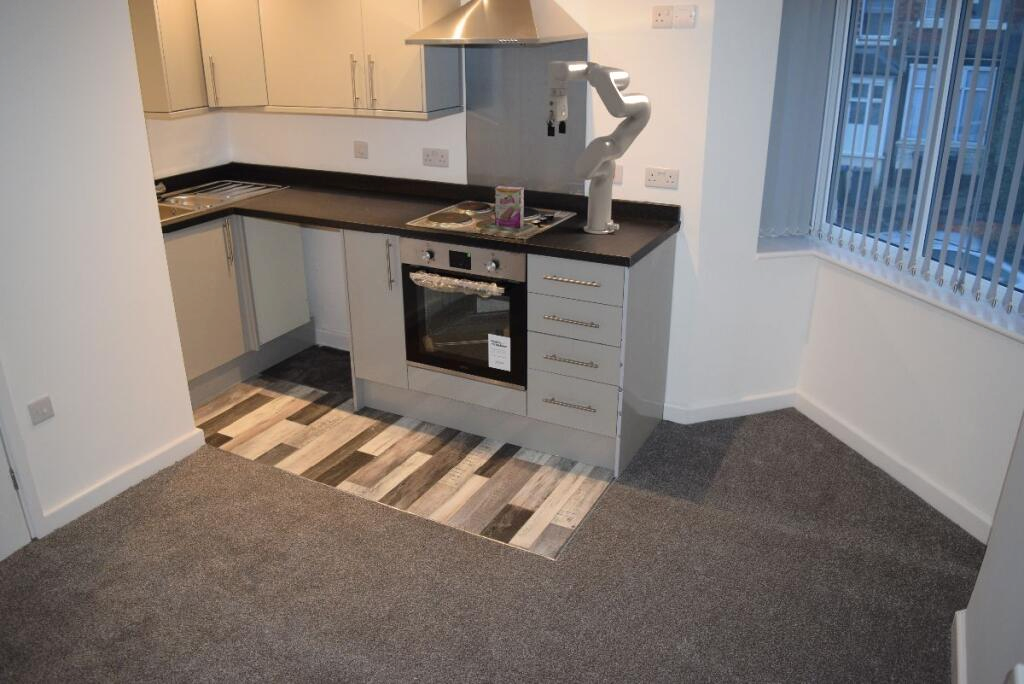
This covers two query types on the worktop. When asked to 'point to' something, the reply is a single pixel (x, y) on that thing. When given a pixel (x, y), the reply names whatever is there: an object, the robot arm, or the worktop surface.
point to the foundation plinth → (508, 230)
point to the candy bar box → (509, 207)
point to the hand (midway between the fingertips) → (556, 134)
